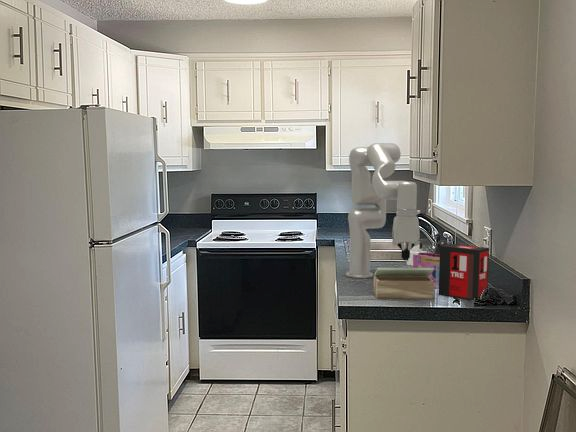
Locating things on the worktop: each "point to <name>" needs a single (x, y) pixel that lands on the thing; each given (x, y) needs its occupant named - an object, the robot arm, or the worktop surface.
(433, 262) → the gum box
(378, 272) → the lid
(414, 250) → the medicine bottle
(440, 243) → the pump dispenser
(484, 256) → the cleaning product box
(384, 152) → the robot arm
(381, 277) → the birch box
